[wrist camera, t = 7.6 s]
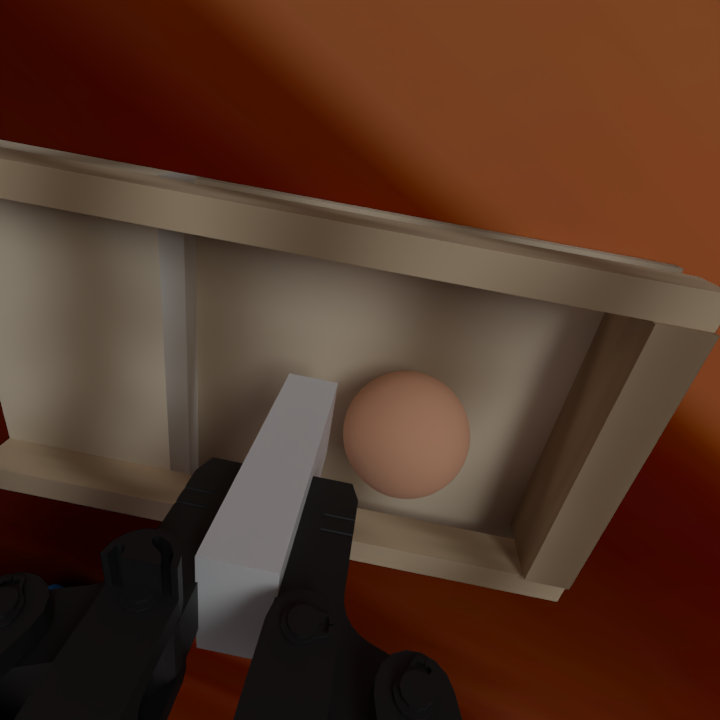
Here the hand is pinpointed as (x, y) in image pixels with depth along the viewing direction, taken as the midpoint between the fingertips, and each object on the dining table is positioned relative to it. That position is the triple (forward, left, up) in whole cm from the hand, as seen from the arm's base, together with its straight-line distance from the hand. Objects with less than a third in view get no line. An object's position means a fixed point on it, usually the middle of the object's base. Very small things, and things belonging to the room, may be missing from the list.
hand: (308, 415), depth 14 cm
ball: (+3, 0, 0) cm, 3 cm away
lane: (-1, 0, -3) cm, 3 cm away
